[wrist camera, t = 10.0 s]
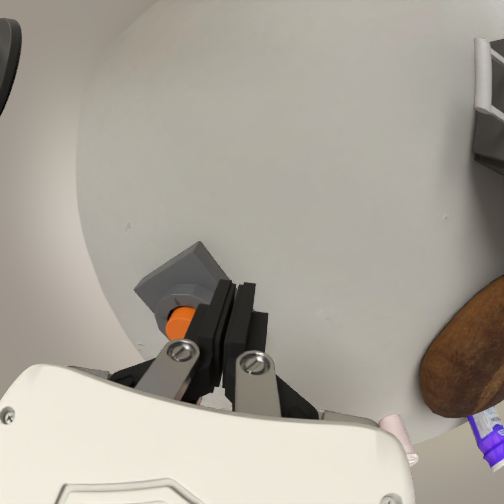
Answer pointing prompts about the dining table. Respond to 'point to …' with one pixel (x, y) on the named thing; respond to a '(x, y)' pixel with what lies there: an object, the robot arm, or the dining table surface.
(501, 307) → the bread
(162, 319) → the control block
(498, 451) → the bottle
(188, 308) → the button
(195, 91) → the dining table surface
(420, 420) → the dining table surface
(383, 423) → the smoothie
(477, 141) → the fryer drawer
